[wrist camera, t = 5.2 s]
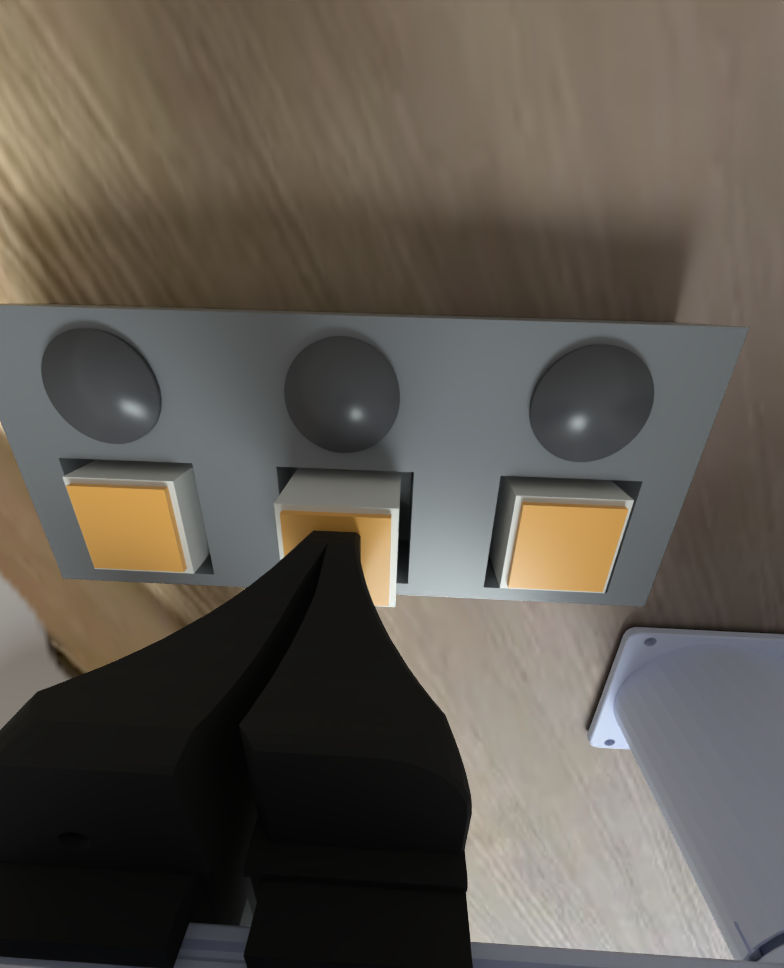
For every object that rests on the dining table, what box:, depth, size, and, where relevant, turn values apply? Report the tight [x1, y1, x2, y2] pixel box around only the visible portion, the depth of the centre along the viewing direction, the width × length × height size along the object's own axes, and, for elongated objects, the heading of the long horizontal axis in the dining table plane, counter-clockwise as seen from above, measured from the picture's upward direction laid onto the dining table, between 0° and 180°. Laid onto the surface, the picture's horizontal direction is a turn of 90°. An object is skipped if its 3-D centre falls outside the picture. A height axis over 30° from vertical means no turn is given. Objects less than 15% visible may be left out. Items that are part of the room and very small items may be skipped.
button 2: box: [63, 459, 210, 574], centre depth 14 cm, size 3×3×3 cm
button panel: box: [0, 304, 749, 607], centre depth 13 cm, size 25×9×3 cm, turn 88°
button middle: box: [274, 468, 401, 607], centre depth 13 cm, size 3×3×3 cm
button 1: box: [489, 476, 634, 593], centre depth 13 cm, size 3×3×3 cm
